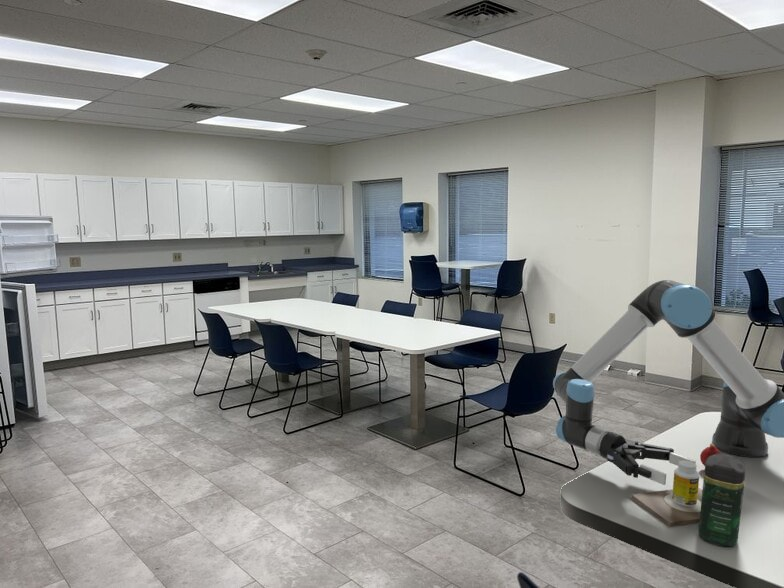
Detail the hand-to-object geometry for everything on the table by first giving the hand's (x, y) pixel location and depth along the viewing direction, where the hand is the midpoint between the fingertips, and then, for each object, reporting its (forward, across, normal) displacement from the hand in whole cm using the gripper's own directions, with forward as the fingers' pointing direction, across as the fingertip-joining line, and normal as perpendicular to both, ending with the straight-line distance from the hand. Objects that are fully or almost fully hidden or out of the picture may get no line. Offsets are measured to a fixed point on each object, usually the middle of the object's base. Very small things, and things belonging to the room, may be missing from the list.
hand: (680, 472), depth 142 cm
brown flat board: (+1, 0, -9) cm, 9 cm away
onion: (-6, -27, -9) cm, 29 cm away
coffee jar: (+13, +6, -9) cm, 17 cm away
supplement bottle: (+1, 0, -8) cm, 8 cm away
